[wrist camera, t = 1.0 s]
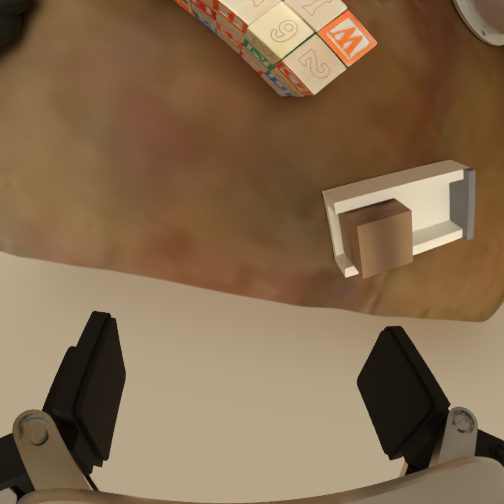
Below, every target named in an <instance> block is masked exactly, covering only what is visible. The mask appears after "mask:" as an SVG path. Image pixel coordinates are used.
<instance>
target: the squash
mask: <svg viewBox="0 0 504 504" xmlns="http://www.w3.org/2000/svg"><path fill="white" fill-rule="evenodd" d="M30 3H31V0H0V47H1V45H3V44H6V43H7V42H9V41H11V40H12V39H13V38H14V37H15V36H16V35H17V33H18V32H19V29H20V26H21V16H20V13H22V12H23V11H24V10H26V9H27V8H28V6H29V5H30Z"/></svg>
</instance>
